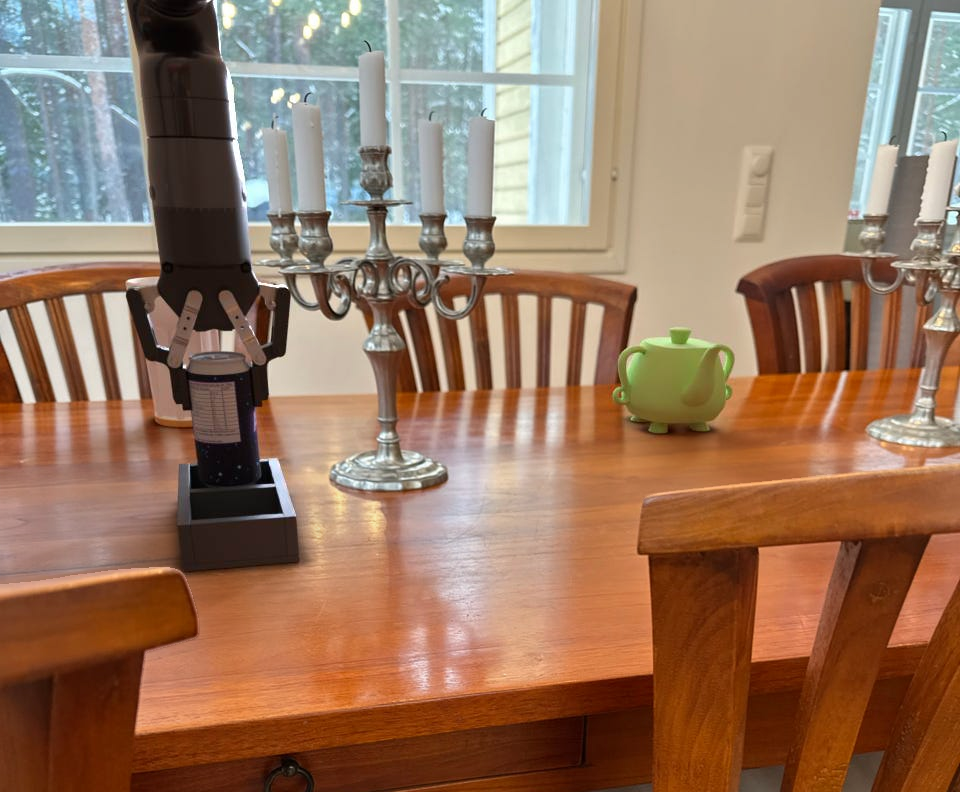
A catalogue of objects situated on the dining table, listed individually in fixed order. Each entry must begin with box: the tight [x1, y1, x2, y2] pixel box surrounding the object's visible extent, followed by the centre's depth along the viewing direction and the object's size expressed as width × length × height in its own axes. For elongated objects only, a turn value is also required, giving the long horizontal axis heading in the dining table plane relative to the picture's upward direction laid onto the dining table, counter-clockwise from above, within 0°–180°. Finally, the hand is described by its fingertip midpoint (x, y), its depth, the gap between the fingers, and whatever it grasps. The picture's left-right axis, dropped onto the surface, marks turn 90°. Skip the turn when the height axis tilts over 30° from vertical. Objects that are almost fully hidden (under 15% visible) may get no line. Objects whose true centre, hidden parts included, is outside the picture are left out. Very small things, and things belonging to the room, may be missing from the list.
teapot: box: [612, 327, 736, 434], centre depth 119 cm, size 16×14×13 cm
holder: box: [176, 457, 301, 573], centre depth 82 cm, size 10×18×4 cm, turn 16°
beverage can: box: [186, 350, 261, 488], centre depth 82 cm, size 6×6×12 cm
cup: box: [125, 276, 221, 428], centre depth 116 cm, size 11×11×17 cm
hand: (222, 406), depth 82 cm, fingers closed on beverage can, 5 cm apart
